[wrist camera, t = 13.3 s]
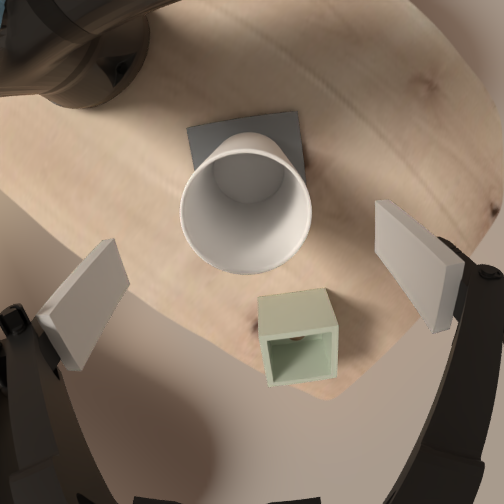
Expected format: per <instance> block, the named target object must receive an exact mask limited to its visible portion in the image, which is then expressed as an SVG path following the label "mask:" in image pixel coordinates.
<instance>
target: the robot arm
mask: <svg viewBox="0 0 504 504" xmlns="http://www.w3.org/2000/svg"><path fill="white" fill-rule="evenodd" d="M178 1H181V0H0V97H6V96H19V95H35V94H39V95H41V96H43V97H45V98H47V99H48V100H49V101H51V102H52V103H54V104H56V105H58V106H61V107H65V108H72V109H77V108H89V107H94V106H98V105H100V104H103V103H105V102H107V101H109V100H111V99H112V98H114V97H115V96H117V95H118V94H119V93H121V92H122V91H123V90H124V89H125V88H126V87H127V86H128V85H129V84H130V83H131V81H132V80H133V79H134V78H135V76H136V75H137V73H138V72H139V70H140V68H141V66H142V64H143V62H144V60H145V57H146V54H147V51H148V46H149V38H150V31H149V24H148V20H147V18H146V16H145V14H147V13H149V12H152V11H154V10H157V9H159V8H162V7H165V6H167V5H170V4H173V3H176V2H178ZM375 253H376V254H377V255H378V257H379V258H380V259H381V261H382V262H383V263H384V265H385V266H386V267H387V269H388V270H389V271H390V273H391V274H392V276H393V277H394V278H395V280H396V281H397V282H398V284H399V285H400V287H401V288H402V289H403V291H404V292H405V294H406V295H407V297H408V298H409V299H410V301H411V302H412V304H413V305H414V307H415V308H416V310H417V311H418V313H419V314H420V316H421V317H422V318H423V320H424V321H425V323H426V325H427V326H428V328H429V329H430V331H431V332H432V334H434V333H438V332H441V331H445V330H448V329H450V326H451V322H452V318H453V316H454V317H455V318H456V320H457V321H458V326H457V330H456V333H455V336H454V339H453V342H452V348H451V351H450V354H449V358H448V361H447V365H446V368H445V371H444V374H443V377H442V380H441V382H440V385H439V388H438V391H437V394H436V397H435V399H434V402H433V405H432V407H431V409H430V412H429V414H428V417H427V419H426V421H425V424H424V426H423V428H422V431H421V433H420V435H419V437H418V440H417V442H416V444H415V446H414V448H413V450H412V452H411V454H410V456H409V458H408V460H407V462H406V465H405V466H404V468H403V470H402V472H401V474H400V475H399V477H398V479H397V481H396V483H395V485H394V486H393V488H392V490H391V491H390V493H389V494H388V496H387V498H386V499H385V501H384V502H383V504H473V502H474V499H475V497H476V494H477V492H478V489H479V486H480V483H481V480H482V477H483V473H484V469H485V463H484V462H483V461H481V454H482V450H483V447H484V443H485V440H486V436H487V432H488V428H489V424H490V420H491V415H492V411H493V406H494V401H495V395H496V390H497V384H498V377H499V370H500V361H501V353H502V343H503V344H504V275H503V273H502V272H501V271H500V270H499V269H497V268H495V267H493V266H490V265H485V264H480V265H476V264H475V263H474V262H473V261H472V260H471V259H470V258H469V257H467V256H466V255H465V254H464V253H462V251H461V250H459V249H458V248H456V246H455V245H453V244H452V243H451V242H450V241H448V240H446V239H444V238H441V237H436V236H435V235H433V234H432V233H431V232H430V231H429V230H427V229H426V228H425V227H424V226H423V225H421V224H420V223H419V222H418V221H416V220H415V219H414V218H413V217H411V216H410V215H409V214H408V213H406V212H405V211H404V210H402V209H401V208H400V207H399V206H397V205H396V204H395V203H393V202H392V201H391V200H389V199H386V200H376V201H375ZM129 285H130V283H129V280H128V277H127V274H126V272H125V269H124V266H123V263H122V260H121V257H120V254H119V251H118V248H117V245H116V242H115V239H114V238H112V239H107V240H102V241H101V242H100V243H99V244H98V245H97V246H96V247H95V248H94V249H93V250H92V251H91V252H90V254H89V255H88V256H87V257H86V258H85V259H84V260H83V261H82V262H81V263H80V265H78V266H77V268H76V269H75V270H74V271H73V272H72V273H71V274H70V275H69V277H68V278H67V279H66V280H65V281H64V282H63V283H62V284H61V285H60V287H59V288H58V289H57V290H56V291H55V293H54V294H53V295H52V296H51V297H50V298H49V300H48V301H47V302H46V303H45V304H44V305H43V307H42V308H41V309H40V310H39V312H38V313H37V314H36V316H35V317H34V319H33V320H32V321H31V322H30V320H29V318H28V316H27V314H26V312H25V310H24V309H23V306H22V305H21V304H13V305H11V306H9V307H7V308H6V309H4V310H3V311H2V312H1V313H0V326H1V328H2V330H3V332H4V333H5V335H6V337H7V338H6V339H3V340H0V504H118V503H117V502H116V500H115V499H114V498H113V496H112V494H111V492H110V491H109V489H108V487H107V485H106V483H105V481H104V479H103V477H102V475H101V473H100V471H99V469H98V467H97V465H96V463H95V461H94V458H93V456H92V454H91V452H90V450H89V447H88V445H87V443H86V441H85V438H84V435H83V433H82V431H81V428H80V426H79V423H78V420H77V418H76V415H75V412H74V410H73V407H72V404H71V401H70V398H69V395H68V392H67V389H66V386H65V383H64V380H63V376H62V373H61V371H60V370H59V368H58V367H57V365H58V363H59V361H60V360H61V361H62V362H63V364H64V366H65V367H66V369H67V370H72V371H82V369H83V367H84V365H85V363H86V361H87V359H88V358H89V356H90V354H91V352H92V350H93V348H94V346H95V345H96V343H97V341H98V339H99V337H100V335H101V334H102V332H103V330H104V328H105V326H106V324H107V323H108V321H109V319H110V317H111V316H112V314H113V312H114V310H115V309H116V307H117V305H118V303H119V302H120V300H121V298H122V297H123V295H124V293H125V292H126V290H127V288H128V287H129ZM133 504H181V503H178V502H175V501H165V500H157V499H149V498H142V497H136V496H135V497H134V500H133ZM268 504H321V500H320V497H316V498H309V499H302V500H293V501H283V502H272V503H268Z"/></svg>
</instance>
